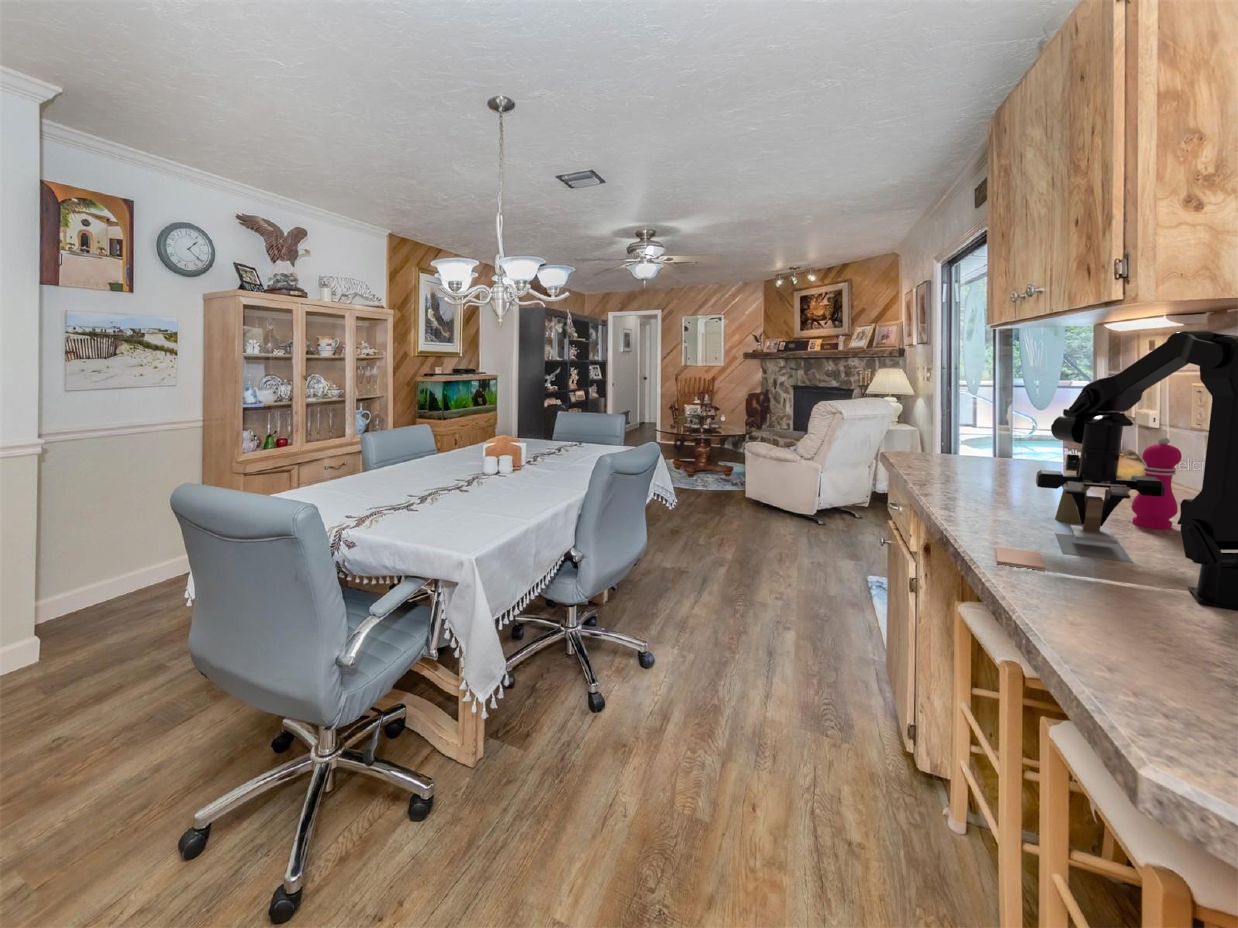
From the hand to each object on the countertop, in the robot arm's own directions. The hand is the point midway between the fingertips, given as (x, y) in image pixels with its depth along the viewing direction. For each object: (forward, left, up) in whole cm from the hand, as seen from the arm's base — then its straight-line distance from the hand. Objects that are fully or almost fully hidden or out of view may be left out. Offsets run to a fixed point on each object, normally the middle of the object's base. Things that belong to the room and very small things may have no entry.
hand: (1091, 524), depth 110 cm
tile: (-13, +12, -4) cm, 18 cm away
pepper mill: (+21, -13, -4) cm, 25 cm away
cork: (+18, +1, -4) cm, 19 cm away
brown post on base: (-3, 0, -2) cm, 3 cm away
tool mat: (-3, 0, -4) cm, 5 cm away
